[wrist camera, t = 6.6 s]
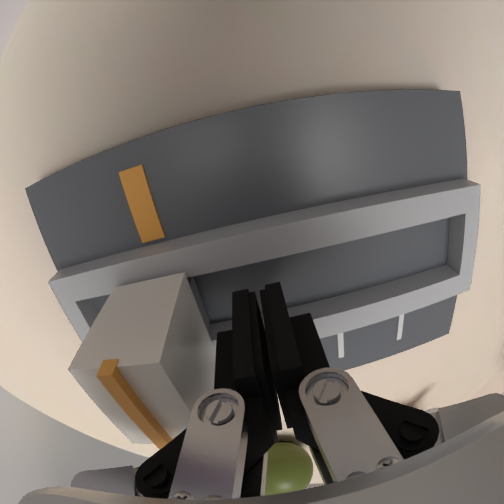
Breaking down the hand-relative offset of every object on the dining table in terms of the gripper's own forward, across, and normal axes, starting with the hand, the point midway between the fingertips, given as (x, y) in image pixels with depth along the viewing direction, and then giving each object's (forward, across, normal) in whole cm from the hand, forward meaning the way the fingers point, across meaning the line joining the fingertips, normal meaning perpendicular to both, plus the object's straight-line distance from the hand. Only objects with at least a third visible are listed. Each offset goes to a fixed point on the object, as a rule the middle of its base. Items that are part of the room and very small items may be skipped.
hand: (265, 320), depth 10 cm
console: (+4, -1, 0) cm, 4 cm away
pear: (+4, +3, +20) cm, 21 cm away
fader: (+2, +4, 0) cm, 4 cm away
